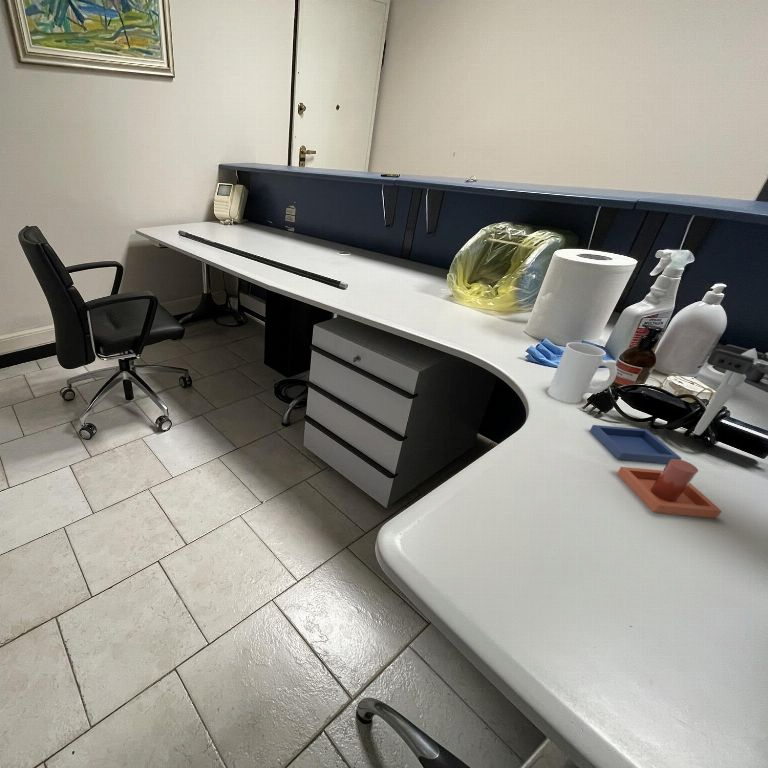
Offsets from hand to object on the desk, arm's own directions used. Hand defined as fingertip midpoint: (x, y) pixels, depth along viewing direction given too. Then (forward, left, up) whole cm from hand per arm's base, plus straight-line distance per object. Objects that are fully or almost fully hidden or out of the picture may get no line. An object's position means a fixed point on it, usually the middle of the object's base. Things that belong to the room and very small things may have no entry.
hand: (716, 353), depth 57 cm
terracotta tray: (-1, +4, -23) cm, 24 cm away
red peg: (-1, +4, -23) cm, 23 cm away
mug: (-3, -26, -24) cm, 35 cm away
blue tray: (-4, -9, -23) cm, 25 cm away
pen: (-2, +2, -12) cm, 13 cm away
